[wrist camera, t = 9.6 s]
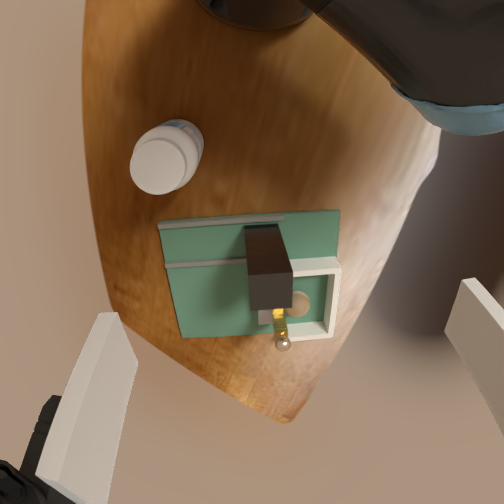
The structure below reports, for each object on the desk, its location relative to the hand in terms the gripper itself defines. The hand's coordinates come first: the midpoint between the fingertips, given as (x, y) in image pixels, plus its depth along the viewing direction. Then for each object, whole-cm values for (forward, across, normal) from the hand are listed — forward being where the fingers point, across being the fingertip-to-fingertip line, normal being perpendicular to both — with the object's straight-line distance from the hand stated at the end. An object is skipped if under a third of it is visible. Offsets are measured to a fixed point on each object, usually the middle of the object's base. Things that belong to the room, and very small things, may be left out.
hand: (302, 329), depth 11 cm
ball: (+25, +4, -19) cm, 32 cm away
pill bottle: (+28, -9, +2) cm, 29 cm away
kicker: (+27, 0, -15) cm, 30 cm away
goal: (+27, +5, -19) cm, 34 cm away
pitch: (+27, -2, -16) cm, 32 cm away
